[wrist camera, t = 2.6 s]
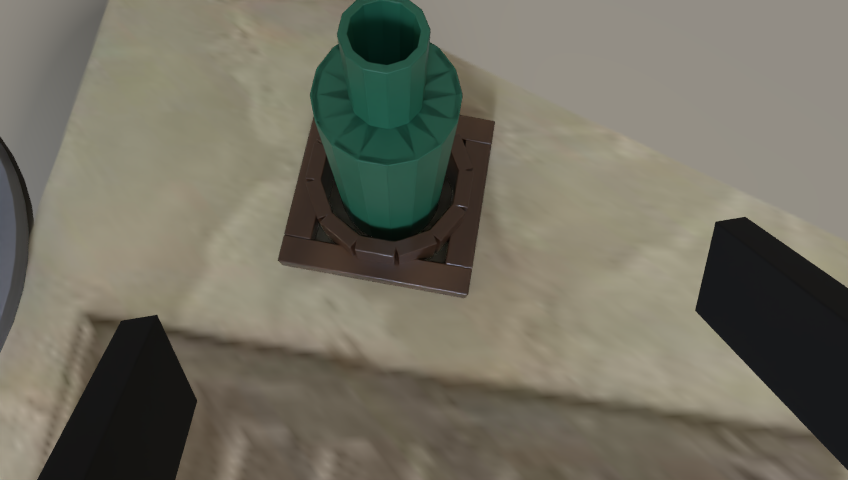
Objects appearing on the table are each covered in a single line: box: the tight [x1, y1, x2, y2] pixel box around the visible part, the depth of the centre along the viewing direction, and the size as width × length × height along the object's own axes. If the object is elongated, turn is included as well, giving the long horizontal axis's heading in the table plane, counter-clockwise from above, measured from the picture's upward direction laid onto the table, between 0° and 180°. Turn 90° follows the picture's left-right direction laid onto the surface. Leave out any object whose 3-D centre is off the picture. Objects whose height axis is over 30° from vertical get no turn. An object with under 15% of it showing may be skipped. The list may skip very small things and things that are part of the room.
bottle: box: [310, 0, 462, 241], centre depth 28 cm, size 7×7×18 cm
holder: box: [278, 115, 495, 298], centre depth 35 cm, size 13×13×4 cm
